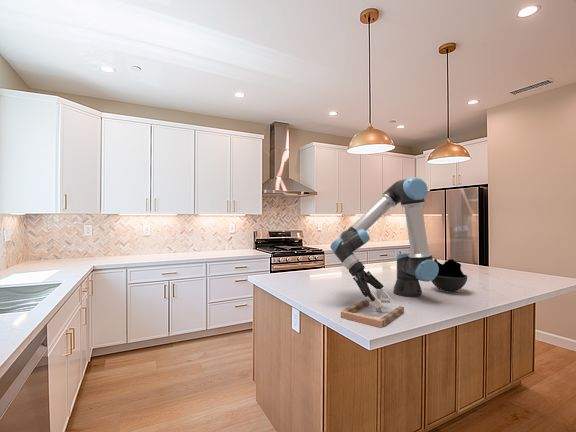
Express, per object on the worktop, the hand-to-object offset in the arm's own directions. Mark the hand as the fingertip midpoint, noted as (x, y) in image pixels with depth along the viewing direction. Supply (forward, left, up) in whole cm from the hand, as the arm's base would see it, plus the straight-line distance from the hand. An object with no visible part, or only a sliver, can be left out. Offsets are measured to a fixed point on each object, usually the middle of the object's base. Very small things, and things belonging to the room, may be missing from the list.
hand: (384, 303), depth 134 cm
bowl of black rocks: (-43, -48, -4) cm, 65 cm away
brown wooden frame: (+5, +3, -4) cm, 7 cm away
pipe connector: (+3, -2, -4) cm, 5 cm away
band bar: (+12, +14, -4) cm, 19 cm away
